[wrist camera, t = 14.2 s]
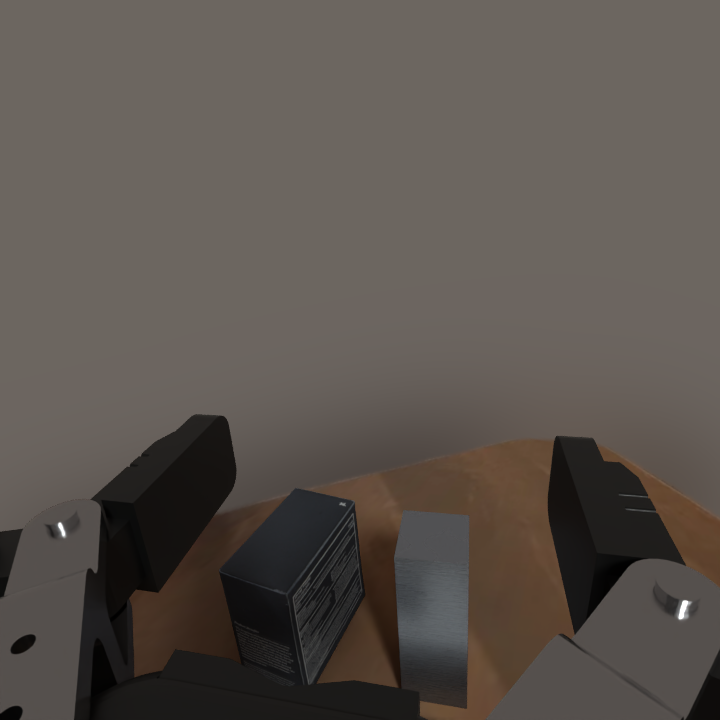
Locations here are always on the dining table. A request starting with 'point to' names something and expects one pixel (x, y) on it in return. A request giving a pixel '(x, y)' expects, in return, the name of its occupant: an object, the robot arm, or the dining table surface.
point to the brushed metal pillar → (433, 605)
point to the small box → (295, 587)
